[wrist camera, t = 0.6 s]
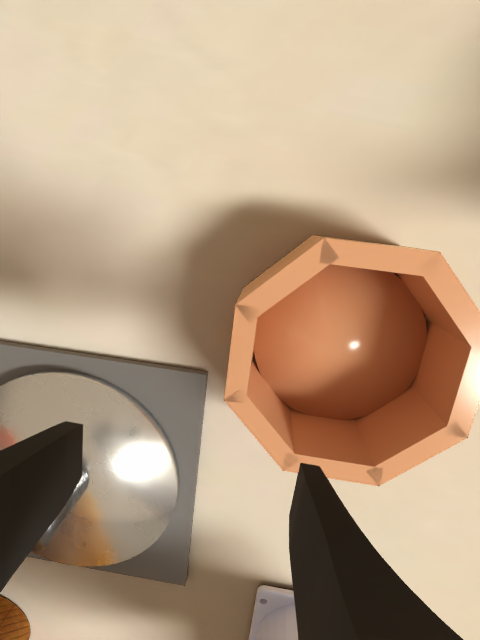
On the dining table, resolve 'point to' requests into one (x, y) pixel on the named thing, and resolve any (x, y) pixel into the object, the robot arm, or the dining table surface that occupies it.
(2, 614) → the disposable coffee cup
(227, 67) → the dining table surface
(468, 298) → the terracotta bowl
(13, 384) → the steel lid
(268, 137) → the dining table surface
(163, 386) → the rubber mat
